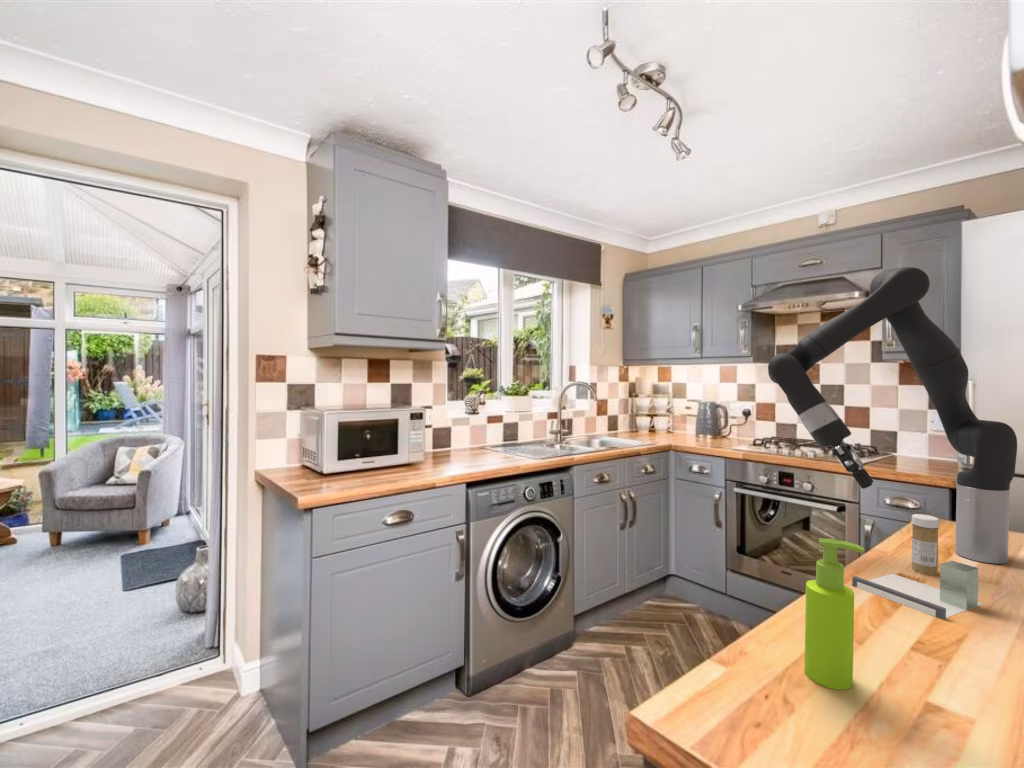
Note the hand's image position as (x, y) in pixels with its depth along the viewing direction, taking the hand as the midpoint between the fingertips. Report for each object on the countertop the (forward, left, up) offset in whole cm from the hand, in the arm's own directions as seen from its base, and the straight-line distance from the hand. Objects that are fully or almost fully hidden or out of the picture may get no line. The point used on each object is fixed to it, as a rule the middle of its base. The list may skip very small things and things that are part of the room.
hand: (868, 485), depth 113 cm
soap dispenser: (+51, +24, -19) cm, 59 cm away
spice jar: (-3, +10, -19) cm, 21 cm away
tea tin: (+9, +21, -17) cm, 28 cm away
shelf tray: (+12, +15, -18) cm, 26 cm away
